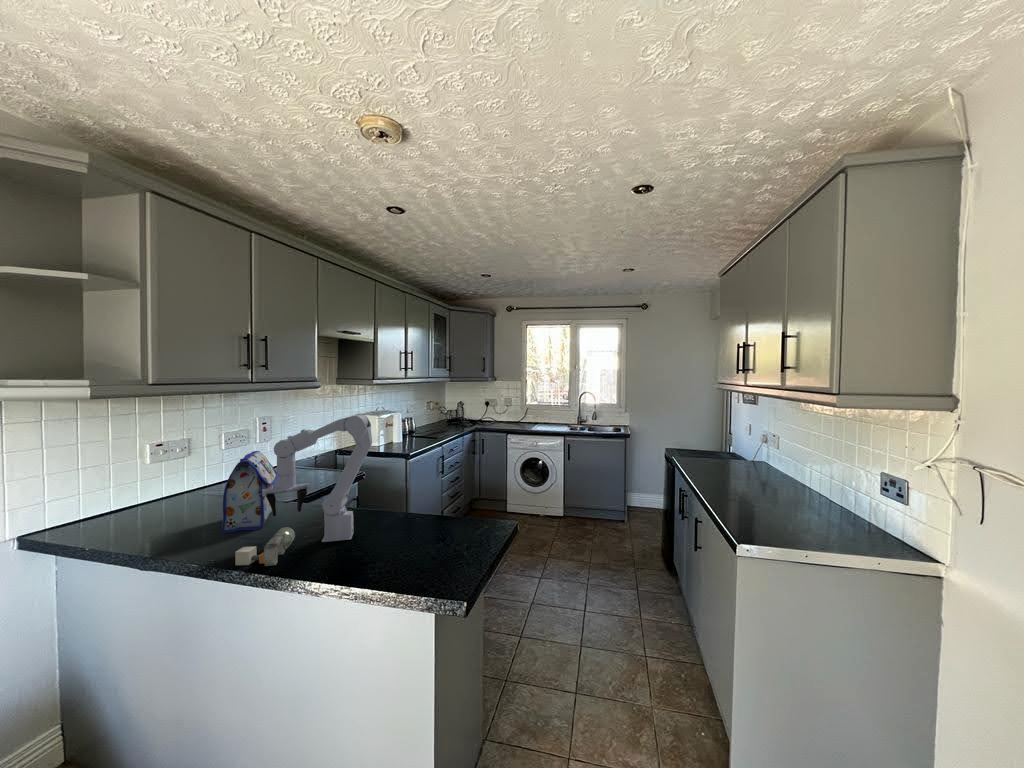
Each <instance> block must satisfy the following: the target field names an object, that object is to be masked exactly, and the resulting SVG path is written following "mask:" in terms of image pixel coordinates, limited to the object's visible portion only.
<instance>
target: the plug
mask: <svg viewBox="0 0 1024 768" xmlns="http://www.w3.org/2000/svg"><path fill="white" fill-rule="evenodd" d="M234 553H235V555H234V556H235V558H234V560H235V566H250V565H251V564H252V563H254V562H255V561H258V563H259V564H265V561H264V551H262V552H261V553H260V554H257V546H256V545H255V546H242V547H241V548H239V549H237V550H236V551H235V552H234Z"/></svg>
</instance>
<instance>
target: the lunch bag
mask: <svg viewBox="0 0 1024 768" xmlns="http://www.w3.org/2000/svg"><path fill="white" fill-rule="evenodd" d="M275 482H277V470H276V469H275V467H274V466H273V465H272V464H271V462H270V461H269V459H268V458H267V457H266V456H265V454H263V453H262V452H261V451H260V450H254V451H251V452H249V453H247V454H245V455H244V456H243V458H240V459H239V462H237V464H236V465H235V467H234V468H233V469H232V471H231V473H230V475H229V476H228V479H227V481H226V484H225V487H224V491H223V496H222V523H221V529H220V530H221V532H222V533H223V534H225V533H233V532H234V533H235V532H238V531H254V530H261V529H264V525H265V523H266V520H267V519H268V518H269V516H270V514H272V509H271V506H270V503H269V501H268V499H267V498H266V496H262V490H263V489H269V488H273V487H275Z"/></svg>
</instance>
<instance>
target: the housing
mask: <svg viewBox="0 0 1024 768" xmlns="http://www.w3.org/2000/svg"><path fill="white" fill-rule="evenodd" d="M295 537H296V532H295V531H294V529H293V528H292V527H288V526H284V527H282V528H280V529H278V531H277V532H276V533H275V534H273V536H272V537H271V538H270V540H269V541H268V542H267V543H266V544H265V545H264V547H263V552H264V561H265V563H264V567H269V566H276V565H277V564H278V559H279V558H278V557H279V556H280V555H284V554H285V553H286V551H287V549H289V547H290V545H291V544H292V543H293V541H294V540H295Z"/></svg>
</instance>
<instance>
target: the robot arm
mask: <svg viewBox="0 0 1024 768" xmlns="http://www.w3.org/2000/svg"><path fill="white" fill-rule="evenodd" d="M337 431H338V432H339V431H340V432H343V433H344V432H347V433H348V434H349V435H350V436H351V437H352V438H353V441H354V442H355V446H354V448H353V451H352V452H351V454H350V456H349V458H348V460H347V462H346V464H345V466H344V468H343V470H342V473H341V474H340V476H339V478H338V481H336V484H335V486H334V487H333V489H332V490H331V491H330V493H329V496H327V497H325V498H324V500H323V501H322V503H321V508H322V511H323V512H324V517H323V518H324V519H323V520H324V536H323V537H322V540H321V543H328V542H337V541H348V540H350V541H351V540H352V538H353V535H354V530H355V529H354V511H353V510H347V507H346V504H347V502H348V500H349V497H348V496H349V493H350V491H351V490H350V489H351V487H352V485H353V483H354V481H355V479H356V477H357V475H358V473H359V471H360V469H361V466H362V465H363V463H364V461H365V458H366V457H367V455H368V453H369V451H370V448H371V447H372V445H373V435H372V423H371V421H370V419H369V418H368V416H367V415H365V414H363V413H356V414H355V415H350V416H347V417H344V418H340V419H337V420H334V421H332V422H331V423H328V424H326V425H324V426H322V427H319V428H317V429H316V430H312V429H309V428H307V429H306V428H304V429H301V430H300V432H298V433H297V434H294V435H288V436H287V438H285V439H281V440H279V441H278V442H276V443H275V444H274V447H273V453H274V455H276V472H277V479H276V486H274V487H273V488H269V489H263V490H262V496H266V498H267V499H268V501H269V503H270V506H271V509H272V512H271V514H272V516H273V517H276V516H277V511H276V510H277V509H276V500H277V498H276V495H277V494H279V495H280V494H285V493H290V492H291V493H292V492H296V497H297V498H296V499H297V507H296V508H297V509H296V510H297V512H298V513H299V512H300V513H301V512H302V507H303V506H302V505H303V503H304V501H305V498H306V496H307V494H308V491H309V490H310V489H311V483H309V482H305V483H297V481H296V480H297V477H296V476H297V473H296V471H297V470H296V453H298V452H300V451H302V450H305V449H307V448H309V447H312V446H314V445H316V444H317V442H318V440H319V439H321V438H323V437H326V436H327V435H330V434H333V433H335V432H337Z"/></svg>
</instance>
